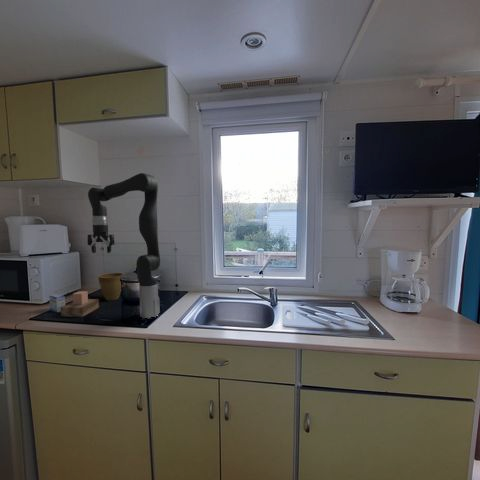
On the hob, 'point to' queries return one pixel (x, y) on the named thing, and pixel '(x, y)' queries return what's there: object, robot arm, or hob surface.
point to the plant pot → (110, 285)
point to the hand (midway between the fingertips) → (101, 252)
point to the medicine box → (56, 302)
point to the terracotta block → (80, 297)
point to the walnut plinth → (79, 308)
